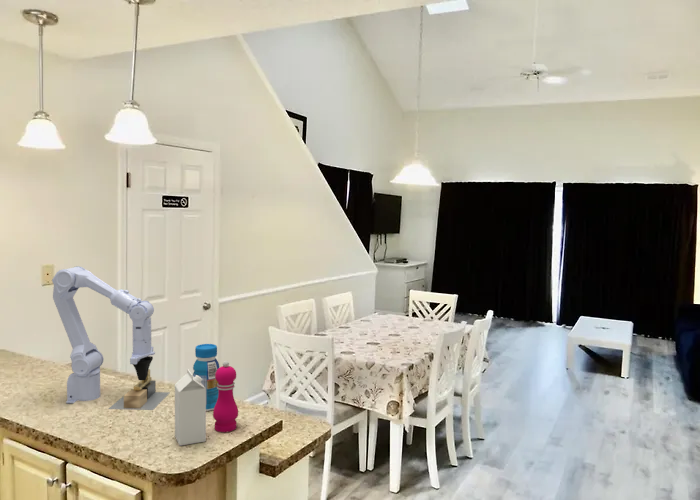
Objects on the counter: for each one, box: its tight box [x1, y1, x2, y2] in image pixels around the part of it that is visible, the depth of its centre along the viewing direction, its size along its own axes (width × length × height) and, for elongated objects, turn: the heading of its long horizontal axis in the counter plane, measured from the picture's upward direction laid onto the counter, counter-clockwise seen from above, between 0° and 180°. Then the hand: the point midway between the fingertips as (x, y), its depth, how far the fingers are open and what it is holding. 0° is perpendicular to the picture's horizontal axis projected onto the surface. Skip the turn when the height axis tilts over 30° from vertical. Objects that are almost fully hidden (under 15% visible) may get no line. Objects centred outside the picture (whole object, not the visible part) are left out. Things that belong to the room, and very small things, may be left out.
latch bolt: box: [133, 368, 152, 391], centre depth 178 cm, size 2×10×4 cm, turn 0°
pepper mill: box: [212, 360, 239, 433], centre depth 158 cm, size 7×7×20 cm
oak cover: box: [123, 388, 147, 408], centre depth 173 cm, size 5×6×4 cm
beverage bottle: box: [192, 343, 220, 412], centre depth 174 cm, size 8×8×20 cm
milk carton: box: [174, 368, 207, 447], centre depth 150 cm, size 7×7×19 cm
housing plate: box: [108, 379, 171, 411], centre depth 177 cm, size 14×16×5 cm
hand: (142, 379), depth 178 cm, fingers closed
